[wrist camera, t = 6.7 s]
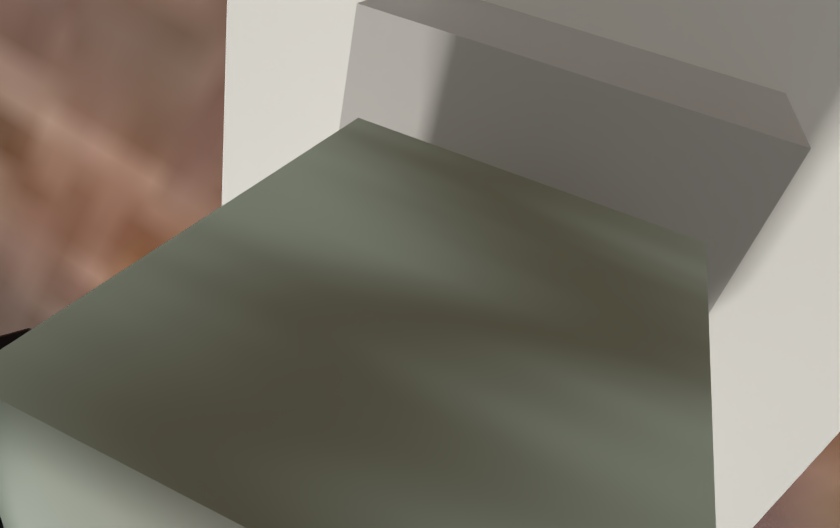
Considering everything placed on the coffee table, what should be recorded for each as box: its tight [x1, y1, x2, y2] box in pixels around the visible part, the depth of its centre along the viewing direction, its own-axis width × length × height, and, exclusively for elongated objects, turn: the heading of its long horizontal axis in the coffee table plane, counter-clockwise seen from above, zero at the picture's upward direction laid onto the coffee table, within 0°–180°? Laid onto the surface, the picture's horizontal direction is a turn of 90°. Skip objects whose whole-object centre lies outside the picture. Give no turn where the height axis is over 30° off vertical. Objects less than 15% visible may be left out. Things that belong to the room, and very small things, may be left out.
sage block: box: [0, 118, 716, 528], centre depth 7 cm, size 5×5×6 cm
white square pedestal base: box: [222, 0, 840, 528], centre depth 13 cm, size 16×16×4 cm
